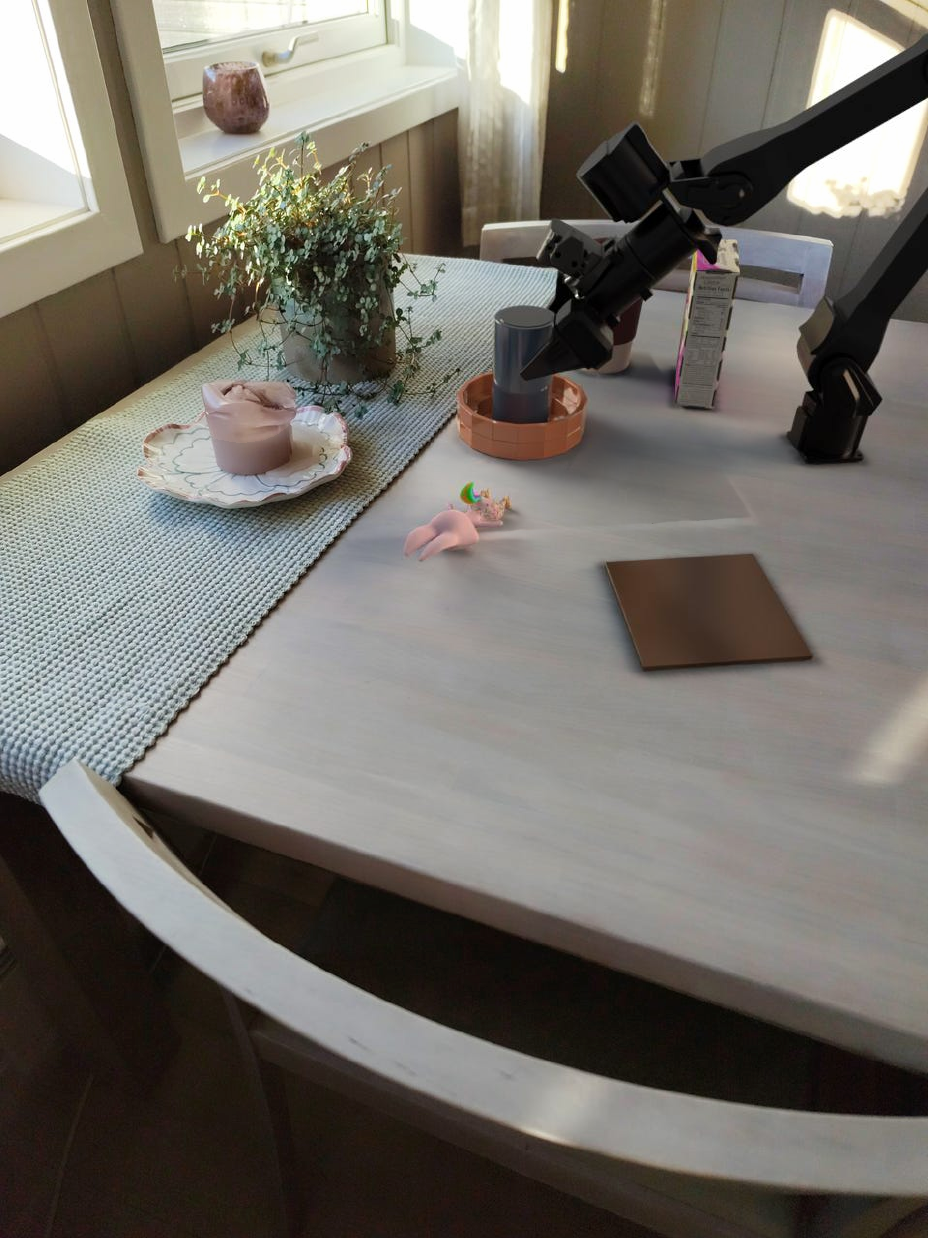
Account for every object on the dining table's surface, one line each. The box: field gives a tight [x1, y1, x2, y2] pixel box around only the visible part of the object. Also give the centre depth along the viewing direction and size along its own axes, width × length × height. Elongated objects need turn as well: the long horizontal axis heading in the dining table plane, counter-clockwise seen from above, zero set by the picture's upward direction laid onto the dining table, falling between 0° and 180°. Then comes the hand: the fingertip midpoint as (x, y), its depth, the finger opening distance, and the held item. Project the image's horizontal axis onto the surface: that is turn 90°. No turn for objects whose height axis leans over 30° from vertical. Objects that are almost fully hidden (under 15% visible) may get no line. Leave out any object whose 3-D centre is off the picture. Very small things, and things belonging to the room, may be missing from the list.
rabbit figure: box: [404, 481, 512, 563], centre depth 81 cm, size 6×6×15 cm
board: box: [604, 553, 814, 672], centre depth 75 cm, size 14×14×1 cm
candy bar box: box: [674, 238, 741, 410], centre depth 102 cm, size 11×5×16 cm, turn 168°
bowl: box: [456, 370, 588, 461], centre depth 98 cm, size 14×14×4 cm
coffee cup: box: [581, 236, 644, 375], centre depth 108 cm, size 10×10×15 cm
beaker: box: [492, 305, 556, 424], centre depth 95 cm, size 7×7×13 cm
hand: (525, 358), depth 93 cm, fingers open, 9 cm apart
